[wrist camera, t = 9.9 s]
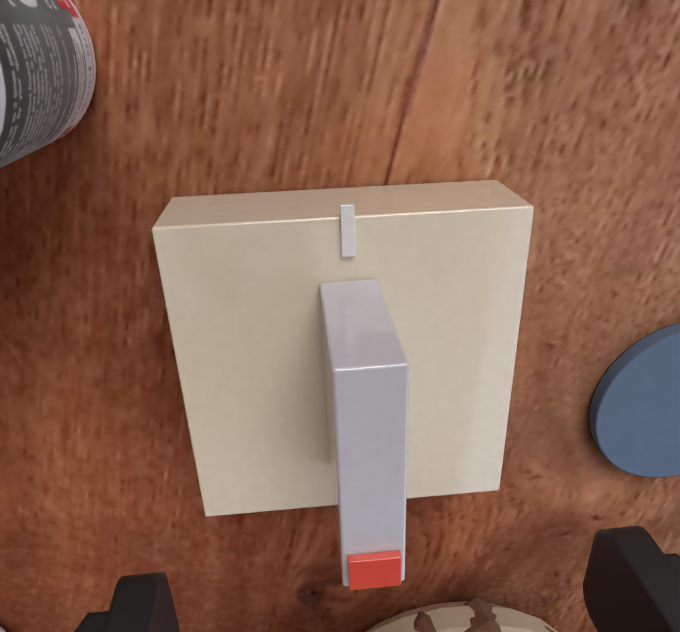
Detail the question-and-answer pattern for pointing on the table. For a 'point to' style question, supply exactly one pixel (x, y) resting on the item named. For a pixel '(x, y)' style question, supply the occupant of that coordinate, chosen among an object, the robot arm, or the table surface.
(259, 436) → the base
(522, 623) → the donut
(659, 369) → the coaster
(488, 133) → the table surface
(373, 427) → the tap handle
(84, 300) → the table surface
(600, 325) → the table surface
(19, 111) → the pill bottle
